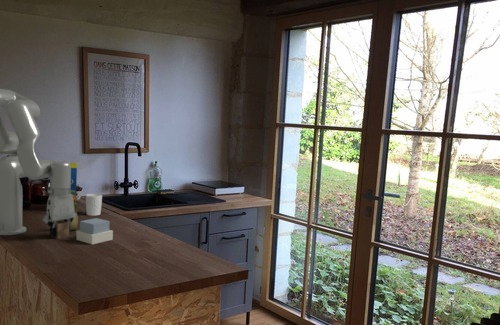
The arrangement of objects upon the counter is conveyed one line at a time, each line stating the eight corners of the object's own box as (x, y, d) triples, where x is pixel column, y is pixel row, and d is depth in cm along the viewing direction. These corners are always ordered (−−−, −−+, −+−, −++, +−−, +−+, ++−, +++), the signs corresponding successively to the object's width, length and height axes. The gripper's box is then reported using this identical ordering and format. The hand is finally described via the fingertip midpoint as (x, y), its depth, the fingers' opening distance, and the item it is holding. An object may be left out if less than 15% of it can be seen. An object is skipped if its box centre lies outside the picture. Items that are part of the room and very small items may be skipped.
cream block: (92, 245, 170) (92, 235, 170) (76, 240, 176) (76, 230, 175) (112, 240, 179) (112, 230, 178) (97, 235, 184) (97, 226, 184)
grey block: (93, 234, 171) (93, 224, 171) (79, 230, 175) (80, 221, 175) (109, 230, 178) (109, 221, 178) (96, 227, 182) (96, 218, 182)
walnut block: (57, 238, 175) (58, 224, 175) (50, 236, 178) (50, 222, 177) (68, 236, 179) (69, 222, 179) (61, 234, 182) (61, 220, 181)
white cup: (104, 213, 225) (104, 194, 224) (97, 216, 217) (98, 196, 216) (89, 212, 226) (90, 193, 225) (82, 215, 218) (82, 195, 217)
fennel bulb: (62, 231, 186) (62, 204, 185) (64, 228, 191) (64, 201, 190) (77, 231, 188) (77, 204, 187) (78, 228, 192) (78, 201, 191)
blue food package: (75, 211, 226) (76, 163, 224) (50, 211, 222) (51, 163, 220) (76, 208, 232) (76, 162, 230) (51, 209, 228) (52, 161, 225)
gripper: (46, 195, 168) (45, 241, 169) (84, 190, 182) (83, 233, 184) (35, 192, 172) (34, 237, 173) (73, 188, 186) (72, 230, 188)
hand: (59, 234), depth 178 cm, fingers closed on walnut block, 5 cm apart
